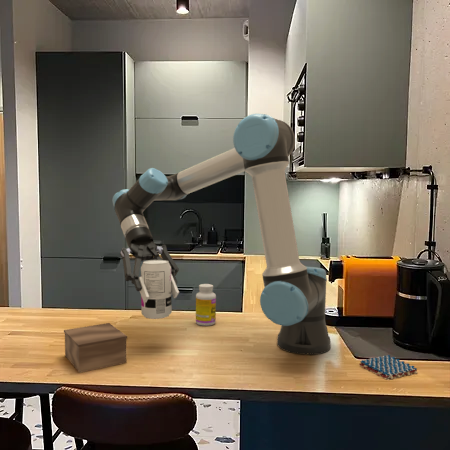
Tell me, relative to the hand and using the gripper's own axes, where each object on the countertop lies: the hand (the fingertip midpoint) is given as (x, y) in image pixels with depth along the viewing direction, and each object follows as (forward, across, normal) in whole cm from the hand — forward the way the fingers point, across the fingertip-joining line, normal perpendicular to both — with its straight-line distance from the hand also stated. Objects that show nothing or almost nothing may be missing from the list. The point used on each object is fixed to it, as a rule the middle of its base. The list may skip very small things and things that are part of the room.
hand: (161, 297), depth 124 cm
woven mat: (+40, -43, +16) cm, 61 cm away
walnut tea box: (+7, +17, -14) cm, 23 cm away
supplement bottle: (-1, -24, -23) cm, 33 cm away
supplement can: (+2, 0, -7) cm, 7 cm away
